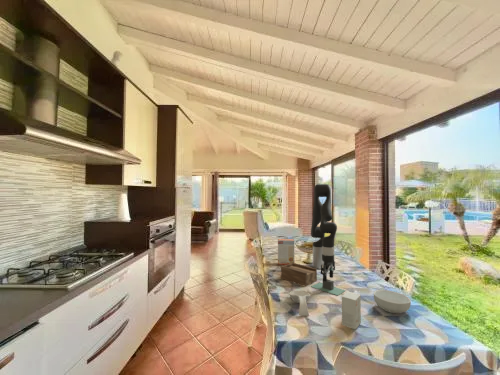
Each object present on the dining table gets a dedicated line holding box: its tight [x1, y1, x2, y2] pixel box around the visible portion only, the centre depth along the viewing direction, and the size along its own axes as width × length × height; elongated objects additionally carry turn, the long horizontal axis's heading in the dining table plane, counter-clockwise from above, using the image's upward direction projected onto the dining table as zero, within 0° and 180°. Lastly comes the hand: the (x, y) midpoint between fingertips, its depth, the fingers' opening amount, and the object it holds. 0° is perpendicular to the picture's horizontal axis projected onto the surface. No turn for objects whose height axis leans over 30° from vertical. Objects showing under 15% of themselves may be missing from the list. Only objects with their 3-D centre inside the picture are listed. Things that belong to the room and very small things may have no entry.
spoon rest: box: [288, 290, 311, 317], centre depth 129 cm, size 24×12×7 cm, turn 176°
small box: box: [341, 290, 362, 330], centre depth 110 cm, size 8×6×13 cm
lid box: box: [280, 262, 318, 287], centre depth 166 cm, size 14×20×8 cm
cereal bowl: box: [373, 289, 412, 314], centre depth 124 cm, size 17×17×7 cm
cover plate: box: [310, 278, 347, 297], centre depth 151 cm, size 10×18×6 cm, turn 44°
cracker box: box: [277, 238, 295, 266], centre depth 204 cm, size 14×6×21 cm, turn 84°
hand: (328, 279), depth 151 cm, fingers open, 8 cm apart
